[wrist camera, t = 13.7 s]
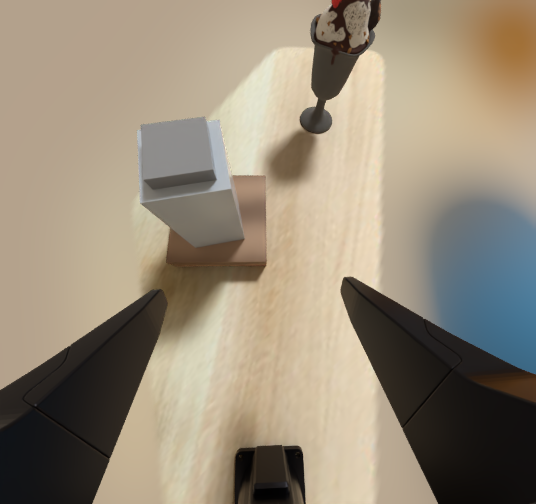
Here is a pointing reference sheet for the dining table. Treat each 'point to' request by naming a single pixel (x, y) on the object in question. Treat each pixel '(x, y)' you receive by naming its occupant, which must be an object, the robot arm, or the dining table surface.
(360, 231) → the dining table surface
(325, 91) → the sundae
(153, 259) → the dining table surface
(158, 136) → the grey rectangular block
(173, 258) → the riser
